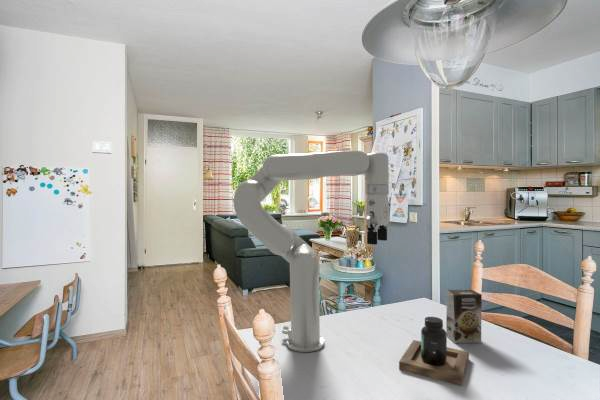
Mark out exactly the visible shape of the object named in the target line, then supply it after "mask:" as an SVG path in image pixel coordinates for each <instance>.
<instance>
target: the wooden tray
mask: <svg viewBox="0 0 600 400" xmlns="http://www.w3.org/2000/svg"><path fill="white" fill-rule="evenodd" d="M469 357H470V352H469V351H467V350H461V349H457V348H452V347H448V346H447V361H446V364H444V365H442V366H433V365H429V364H427V363H425V362H424V361H423V360H422V358H421V340H420V341H419V340H416V339H413V340H412V342H411V343H410V345H409V346H408V347H407V349H406V350H405V352H404V354H403V355H402V356H401V358H400V360H399V361H398V369H399V370H401V371H405V372H408V373H412V374H416V375H420V376H423V377H427V378H431V379H435V380H439V381H442V382H445V383H446V382H447V383H449V384H454V385H457V386H460V385H461V387H462V386H463V382H464V378H465V374H466V370H467V367H468V364H469V360H470V359H469Z"/></svg>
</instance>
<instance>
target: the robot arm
mask: <svg viewBox="0 0 600 400" xmlns="http://www.w3.org/2000/svg"><path fill="white" fill-rule="evenodd" d="M361 175H365V177H364V178H365V185H364V186H365V188H364V189H365V191H364V192H365V196H366V206H365V207H366V208H365V210H366V211H365V213H366V214H365V216H366V217H365V218H366V219H365V222H366V243H367V245H378V241H387V240H388V225H389V223H390V205H389V194H390V193H389V192H390V191H389V190H390V189H389V188H390V185H389V183H390V182H389V181H390V180H389V177H390V176H389V175H390V174H389V155H388V154H387V153H386V152H371V153H366V152H363V151H362V150H339V151H338V150H337V151H336V150H335V151H326V152H308V153H307V152H306V153H288V154H287V153H286V154H284V153H283V154H273V155H268V156H267V157H266V158H265V159H264V161H263V162H262V166H261V168H259V169H258V171H257V172H255V174H254V175H253V176H252V177H251V178H250V179H245V180H244V181H241V183H240V184H239V185H238V186H237V187H236V190H235V191H234V196H233V210H234V213H235V216H236V217H237V219H238V221H239V222H240V223H241V224H242V225H243V226H244V227H245V228H246V230H248V231H249V232H250V233H251V234H252V235H253V236H254V237H255V238H256V239H257V240H258V241H259V242H260V243H262V244H263V245H264V247H265V248H267V249H268V250H269V251H270V252H271V253H272V254H273V255H276V256H281V257H282V258H283V259H284V260H285V261H286V262H287V263H289V289H290V290H289V292H290V293H289V295H290V298H289V299H290V326H289V325H283V327H282V331H281V333H282V334H284V335H287V336H288V337H287V338H286V341H285V342H286V346H287V347H288V348H289V350H292V351H295V352H300V353H310V352H311V353H312V352H315V351H319V350H320V349H322V348H323V347H324V346H325V345H326V344H325V342H326V341H325V338H324V337H323V336H322V335H320V332H321V331H320V330H321V329H320V323H321V322H320V320H321V319H320V275H321V274H320V272H321V271H320V268H321V266H320V265H321V264H320V261H319V257H318V254H317V253H316V251H315V250H314V248H313V247H312V246H310V245H309V244H308V243H307V242H306V241H305V240H304V239H303V238H302V237H300V236H299V235H298V234H297V233H296V232H295V231H294V230H293V229H292V228H290V227H289V226H288V225H285V224H283V223H282V224H281V223H280V222H279V221H278V220H276V219H275V218H274V217H273V216H272V215H271V214H270V213H269V212H268V211H267V210H266V209H264V207H263V206H262V202H263V201H265V199H266V198H267V197H268V196H269V194H271V193H272V192H273V191H274V190H275V189H276V188H277V187H278V186H279V184H280V183H281V182H282V181H283V182H284V181H298V180H299V181H300V180H315V179H317V180H318V179H321V178H325V177H334V176H335V177H336V176H350V177H354V176H356V177H357V176H361Z"/></svg>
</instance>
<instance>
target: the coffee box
mask: <svg viewBox="0 0 600 400" xmlns="http://www.w3.org/2000/svg"><path fill="white" fill-rule="evenodd" d="M482 296H483V295H482V294H481V293H479V292H477V291H475V290H473V289H446V321H445V322H446V330H445V331H446V334H447V338H449V339H450V341H451V342H453V344H481V343H482V299H483V298H482Z"/></svg>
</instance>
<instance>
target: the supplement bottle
mask: <svg viewBox="0 0 600 400" xmlns="http://www.w3.org/2000/svg"><path fill="white" fill-rule="evenodd" d="M420 337H421V338H420V341H421V358H422V360H423V361H424V362H425V363H427V364H429V365H433V366H442V365H444V364H446V361H447V347H448V345H447V338H448V337H447V334H446V330H445V329H444V322H443V319H442V318H440V317H437V316H436V317H435V316H427V317H425V318H424V326H423V327H422V328H421V330H420Z"/></svg>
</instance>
